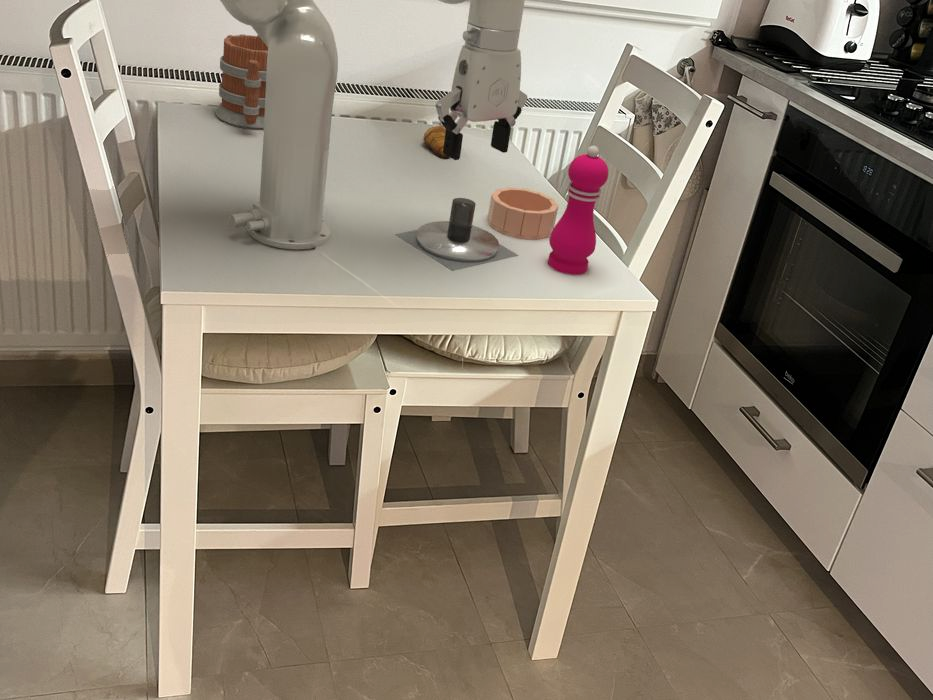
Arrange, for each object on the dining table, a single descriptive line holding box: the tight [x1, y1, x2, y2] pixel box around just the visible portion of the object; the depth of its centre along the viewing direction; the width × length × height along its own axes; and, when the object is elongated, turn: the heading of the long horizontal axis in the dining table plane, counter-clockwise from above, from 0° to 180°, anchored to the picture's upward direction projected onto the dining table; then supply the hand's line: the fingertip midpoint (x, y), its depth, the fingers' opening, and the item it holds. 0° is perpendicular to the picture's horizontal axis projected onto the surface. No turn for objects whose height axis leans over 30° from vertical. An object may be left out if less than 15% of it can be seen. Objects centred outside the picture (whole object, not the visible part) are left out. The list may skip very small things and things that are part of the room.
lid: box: [416, 197, 500, 263], centre depth 156 cm, size 13×13×7 cm
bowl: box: [487, 187, 559, 241], centre depth 168 cm, size 11×11×5 cm
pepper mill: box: [547, 145, 609, 276], centre depth 153 cm, size 7×7×20 cm
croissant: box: [423, 124, 450, 159], centre depth 199 cm, size 14×7×5 cm, turn 14°
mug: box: [215, 34, 268, 130], centre depth 192 cm, size 14×19×15 cm
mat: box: [395, 229, 519, 272], centre depth 158 cm, size 14×14×1 cm
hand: (475, 153), depth 151 cm, fingers open, 9 cm apart
